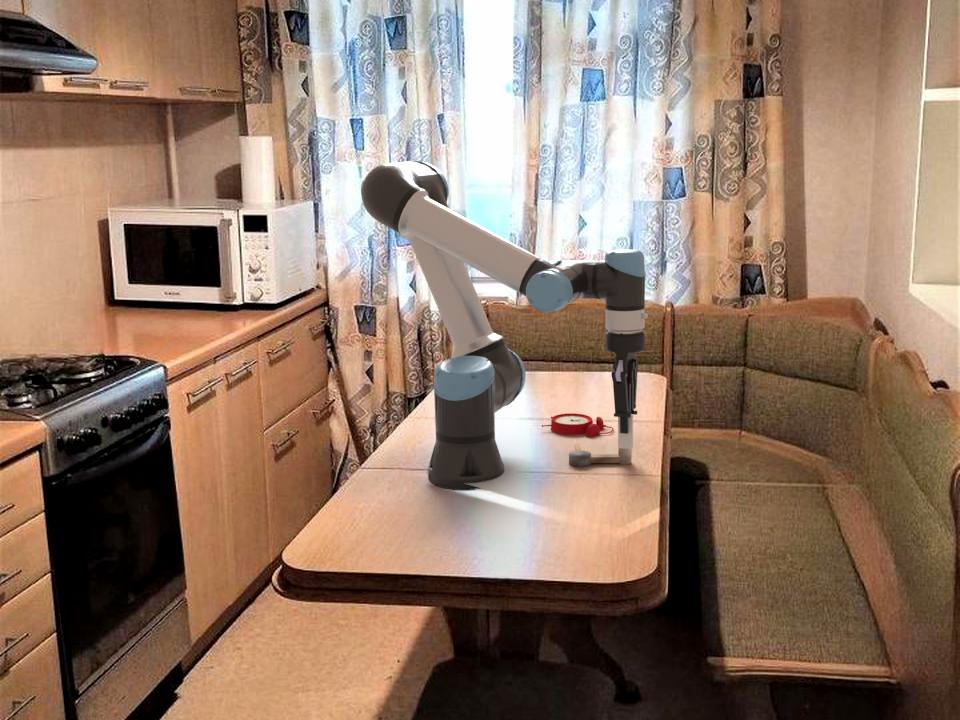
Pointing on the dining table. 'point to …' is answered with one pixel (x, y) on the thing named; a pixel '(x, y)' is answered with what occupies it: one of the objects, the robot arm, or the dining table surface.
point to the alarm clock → (577, 425)
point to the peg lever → (599, 457)
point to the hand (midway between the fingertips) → (625, 447)
